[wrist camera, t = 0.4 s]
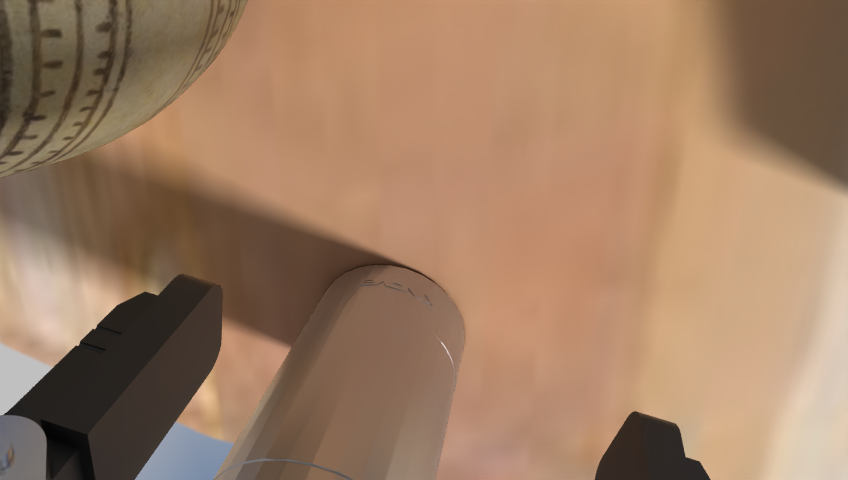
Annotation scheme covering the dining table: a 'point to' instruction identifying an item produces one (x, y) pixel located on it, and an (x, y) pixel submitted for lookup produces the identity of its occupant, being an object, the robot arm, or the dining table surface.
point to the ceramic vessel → (97, 69)
